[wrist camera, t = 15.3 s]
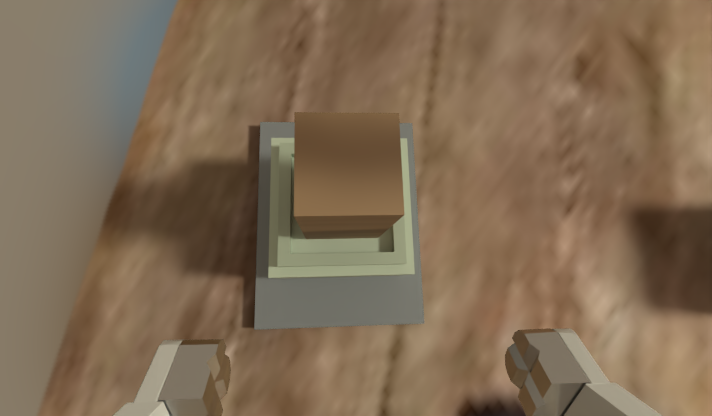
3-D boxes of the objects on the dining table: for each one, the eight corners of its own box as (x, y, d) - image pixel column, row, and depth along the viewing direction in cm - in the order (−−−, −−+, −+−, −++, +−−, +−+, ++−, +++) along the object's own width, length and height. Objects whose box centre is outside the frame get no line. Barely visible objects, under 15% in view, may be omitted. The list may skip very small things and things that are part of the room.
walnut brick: (378, 238, 25) (404, 214, 16) (306, 239, 25) (294, 216, 16) (375, 169, 26) (398, 113, 17) (306, 170, 26) (294, 112, 17)
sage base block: (421, 322, 31) (451, 335, 23) (256, 327, 30) (232, 344, 22) (409, 127, 35) (432, 84, 27) (262, 126, 34) (242, 81, 26)
